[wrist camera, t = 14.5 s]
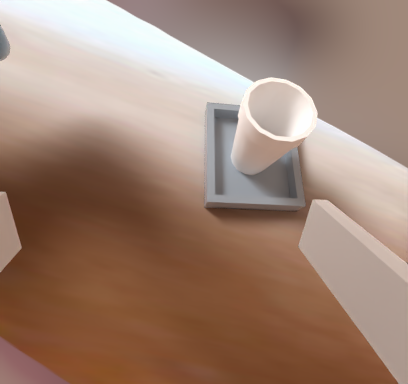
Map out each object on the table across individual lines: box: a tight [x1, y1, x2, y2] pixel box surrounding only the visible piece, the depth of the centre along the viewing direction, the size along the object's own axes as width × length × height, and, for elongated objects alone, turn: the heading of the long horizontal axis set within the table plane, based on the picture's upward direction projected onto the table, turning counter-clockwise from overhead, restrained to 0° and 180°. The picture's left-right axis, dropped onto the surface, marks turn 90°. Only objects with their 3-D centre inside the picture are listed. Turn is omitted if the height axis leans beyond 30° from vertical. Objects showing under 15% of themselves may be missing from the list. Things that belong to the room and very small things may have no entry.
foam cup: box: [231, 78, 317, 175], centre depth 36 cm, size 10×9×13 cm
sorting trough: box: [205, 102, 306, 211], centre depth 41 cm, size 15×18×3 cm
